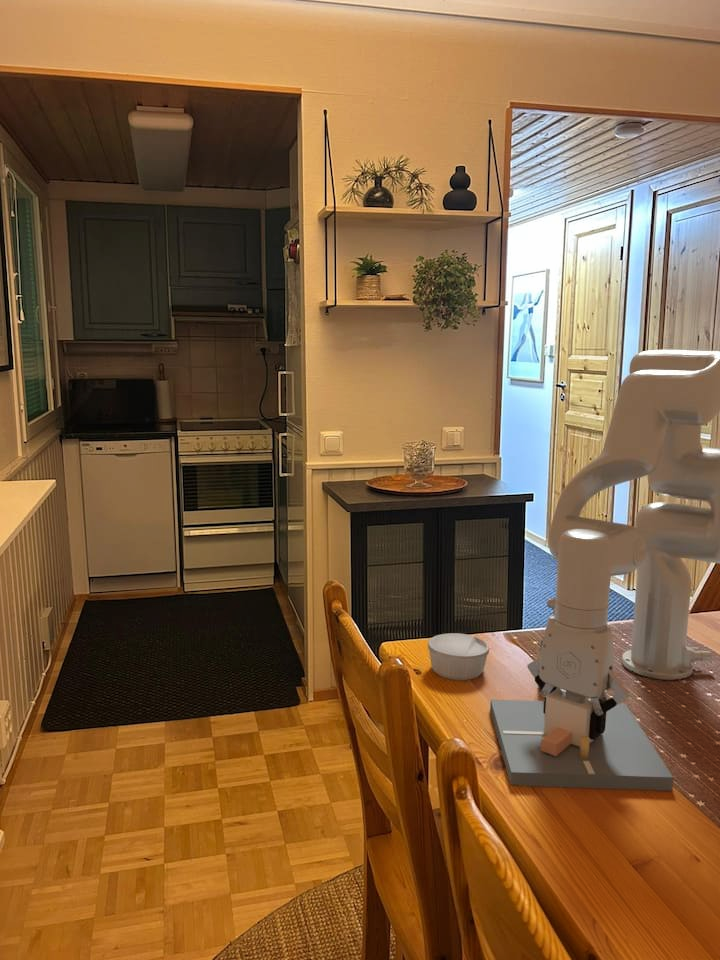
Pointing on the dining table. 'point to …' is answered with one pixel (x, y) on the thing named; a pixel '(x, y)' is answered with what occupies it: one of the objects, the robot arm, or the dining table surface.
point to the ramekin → (458, 655)
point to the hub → (565, 722)
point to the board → (578, 751)
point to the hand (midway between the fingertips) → (573, 726)
